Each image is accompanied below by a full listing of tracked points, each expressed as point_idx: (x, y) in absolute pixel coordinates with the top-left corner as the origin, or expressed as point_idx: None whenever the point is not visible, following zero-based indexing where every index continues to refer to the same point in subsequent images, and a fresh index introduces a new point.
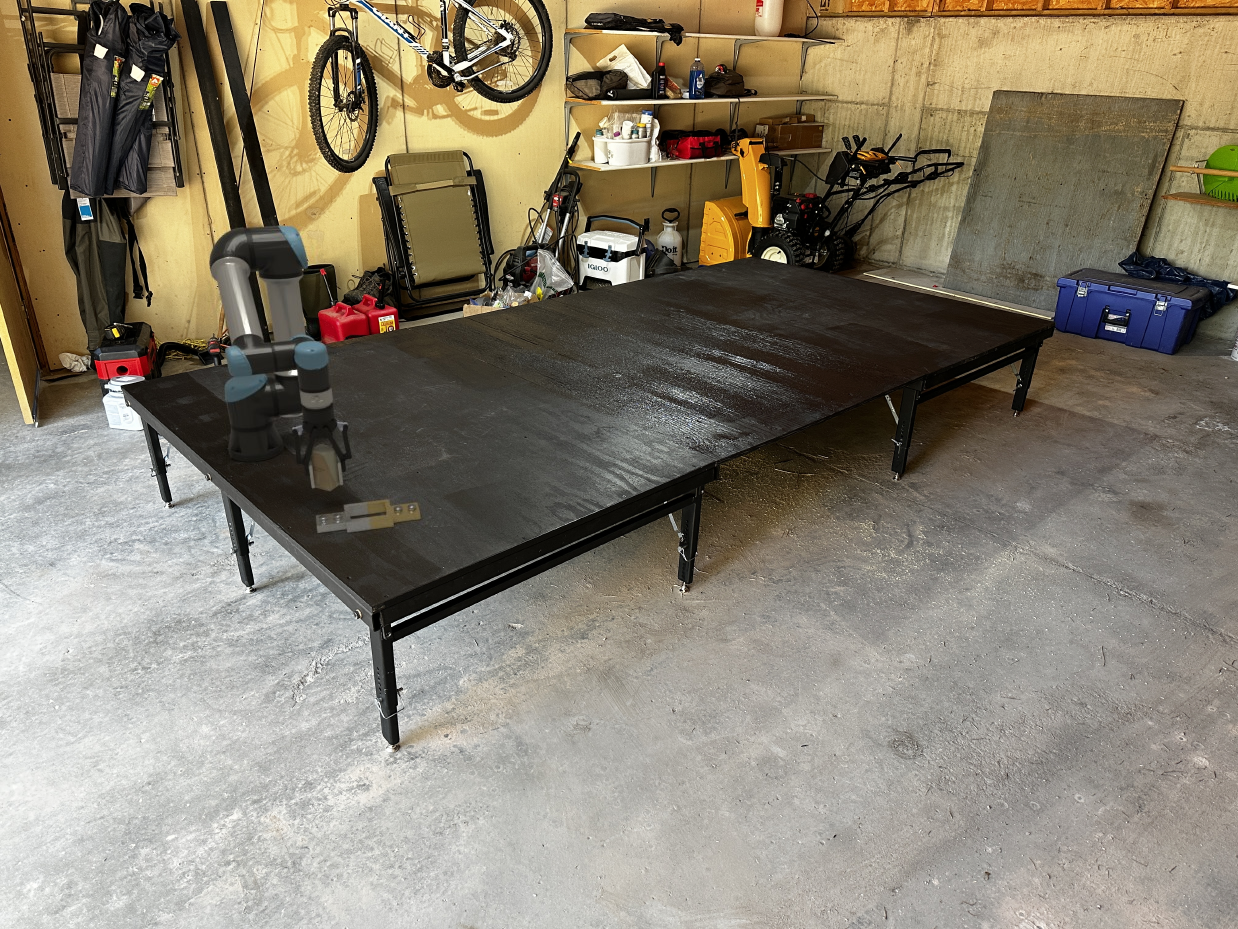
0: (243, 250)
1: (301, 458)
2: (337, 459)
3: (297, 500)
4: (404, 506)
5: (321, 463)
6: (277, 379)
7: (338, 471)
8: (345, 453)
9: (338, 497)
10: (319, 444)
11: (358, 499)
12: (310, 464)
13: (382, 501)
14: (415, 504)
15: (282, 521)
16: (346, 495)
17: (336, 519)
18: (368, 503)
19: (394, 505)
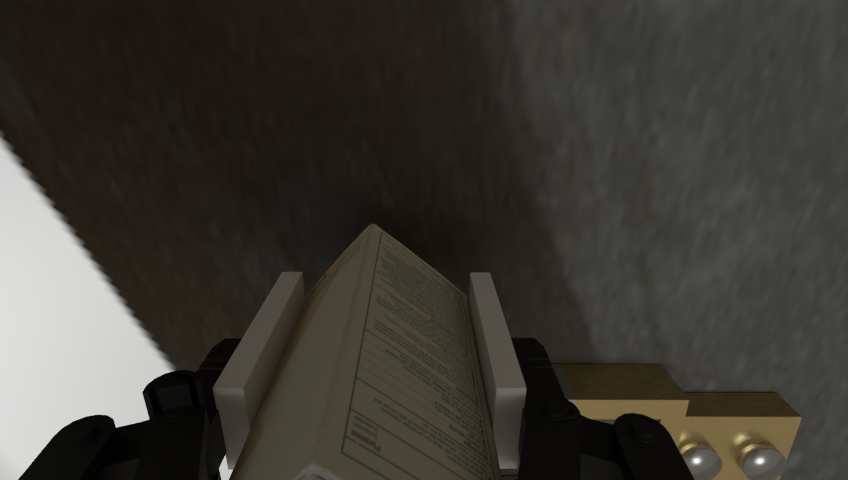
0: None
1: (119, 477)
2: (499, 406)
3: (222, 156)
4: (732, 437)
5: None
6: None
7: (478, 353)
8: (605, 468)
9: (443, 182)
10: (299, 476)
11: (541, 233)
12: (239, 440)
13: (652, 414)
14: (786, 432)
15: (180, 347)
16: (487, 170)
17: None
18: (582, 414)
19: (693, 418)
